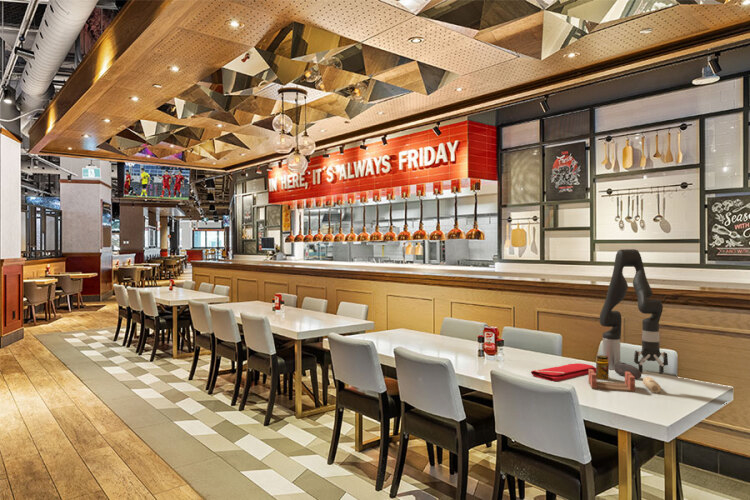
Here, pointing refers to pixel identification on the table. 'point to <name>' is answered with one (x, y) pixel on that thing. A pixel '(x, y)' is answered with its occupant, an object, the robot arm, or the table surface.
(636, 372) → the perforated stone tool
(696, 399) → the table surface
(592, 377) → the end holder
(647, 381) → the tan rounded cylinder
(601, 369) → the condiment
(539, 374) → the dish drying mat
